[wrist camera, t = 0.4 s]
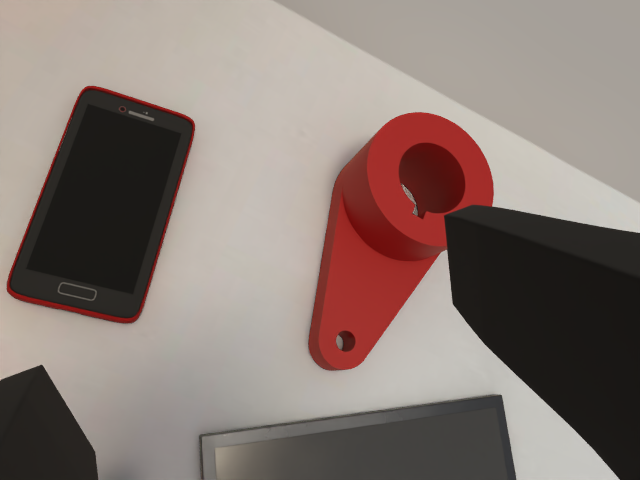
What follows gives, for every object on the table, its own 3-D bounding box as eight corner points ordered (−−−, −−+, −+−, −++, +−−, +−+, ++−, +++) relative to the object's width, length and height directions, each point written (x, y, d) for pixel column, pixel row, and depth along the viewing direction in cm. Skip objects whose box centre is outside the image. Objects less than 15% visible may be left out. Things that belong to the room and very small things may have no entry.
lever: (359, 130, 43) (396, 87, 36) (457, 188, 44) (508, 156, 38) (262, 338, 36) (288, 328, 30) (381, 397, 38) (428, 399, 31)
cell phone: (4, 297, 32) (0, 295, 31) (84, 87, 36) (83, 80, 35) (137, 327, 34) (137, 325, 33) (197, 124, 38) (199, 118, 37)
